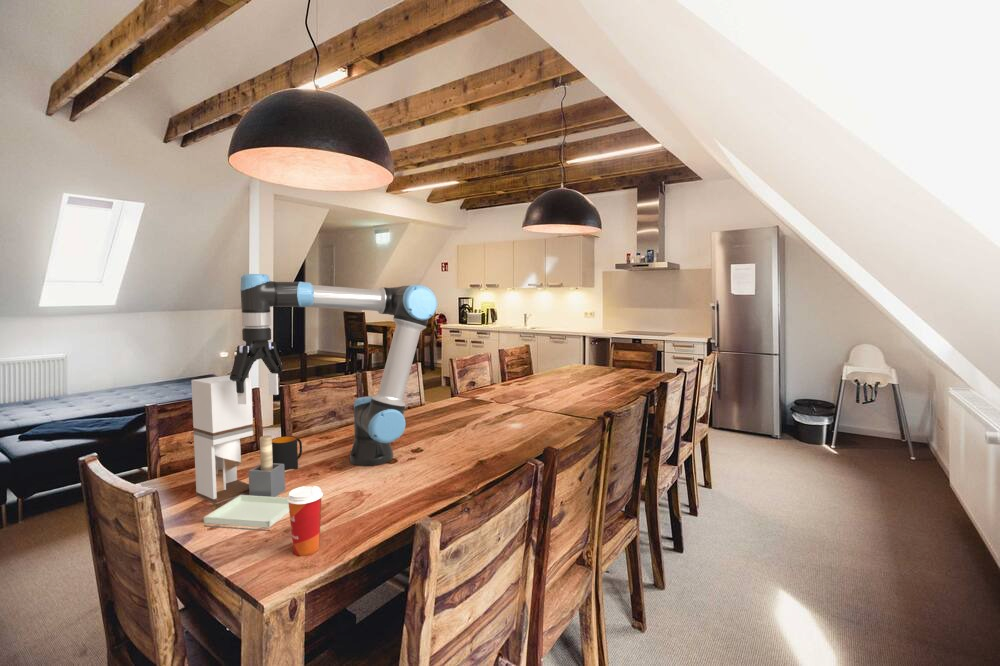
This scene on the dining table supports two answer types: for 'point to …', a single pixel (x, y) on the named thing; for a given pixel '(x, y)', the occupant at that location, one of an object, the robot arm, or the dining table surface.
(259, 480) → the pen cup
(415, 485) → the dining table surface
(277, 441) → the mug
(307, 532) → the paper cup
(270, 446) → the dowel
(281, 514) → the tray
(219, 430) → the white coffee maker
